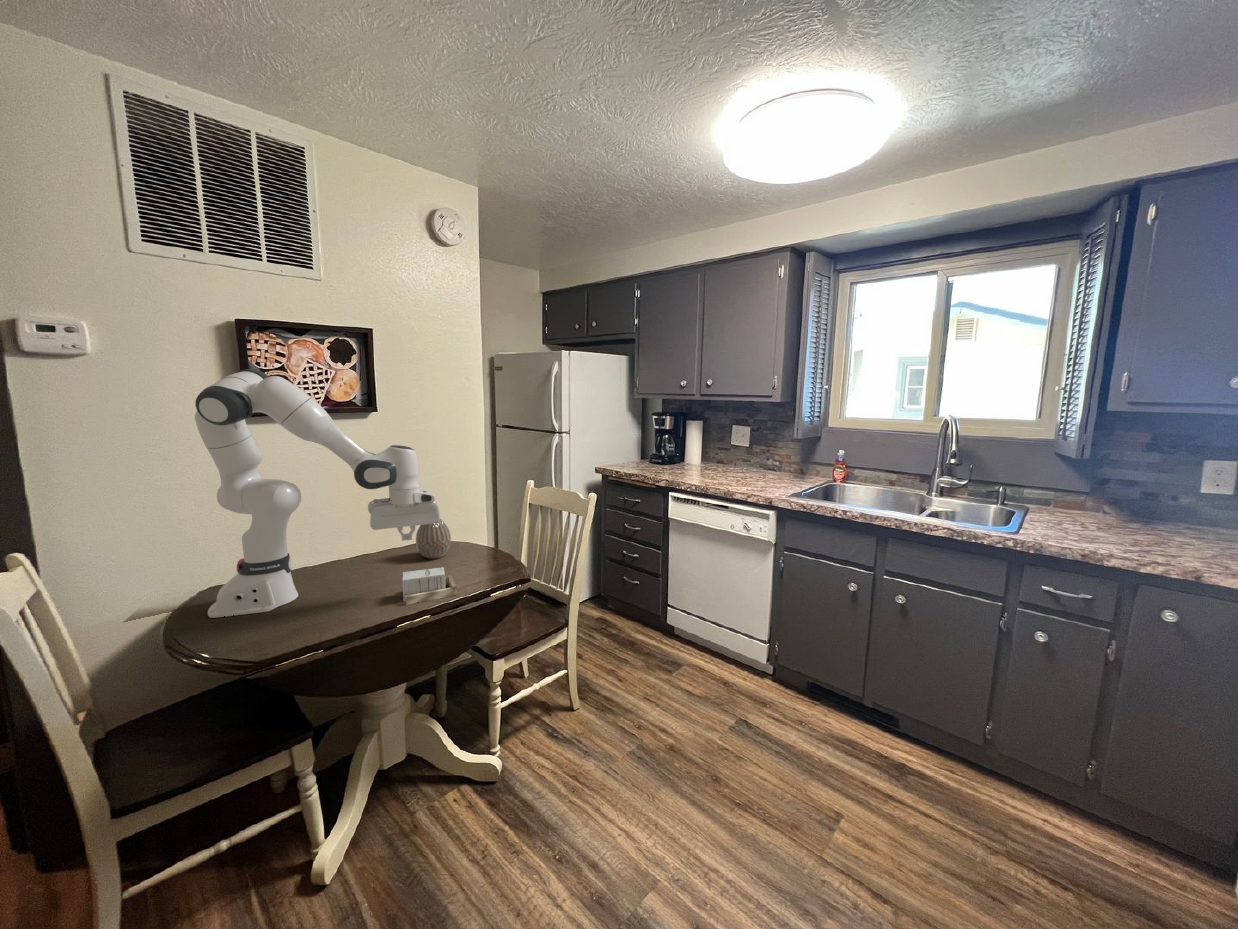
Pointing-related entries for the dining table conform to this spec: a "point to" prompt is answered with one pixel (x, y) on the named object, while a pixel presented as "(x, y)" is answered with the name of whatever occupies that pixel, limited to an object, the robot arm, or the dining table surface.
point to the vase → (433, 540)
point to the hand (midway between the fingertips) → (407, 539)
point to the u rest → (434, 593)
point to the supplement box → (423, 581)
